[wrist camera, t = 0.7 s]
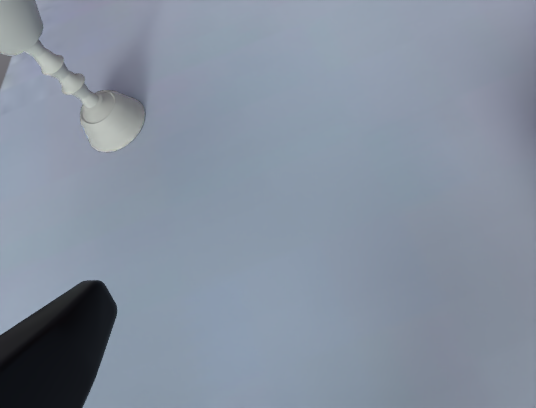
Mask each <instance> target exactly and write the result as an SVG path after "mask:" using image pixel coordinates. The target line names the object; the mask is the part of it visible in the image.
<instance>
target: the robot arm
mask: <svg viewBox="0 0 536 408" xmlns="http://www.w3.org/2000/svg"><path fill="white" fill-rule="evenodd" d="M116 316H117V306H116V303H115V301H114V300H113V298H112V296H111V294H110V293H109V291H108V289H107V287H106V286H105V284H104V283H103V282H102V281H99V280H87V281H83V282H81V283H79V284H78V285H76V286H75V287H73V288H72V289H70V290H69V291H67V292H66V293H64V294H63V295H61V296H59V297H58V298H56V299H55V300H53V301H52V302H50V303H49V304H47V305H46V306H44V307H43V308H41V309H40V310H38V311H37V312H35V313H34V314H32V315H31V316H29V317H28V318H26V319H24V320H23V321H21V322H20V323H18V324H17V325H15V326H14V327H12V328H11V329H9V330H8V331H6V332H5V333H3V334H2V335H0V408H83V405H84V403H85V401H86V399H87V396H88V394H89V392H90V390H91V387H92V385H93V382H94V380H95V378H96V375H97V372H98V369H99V366H100V363H101V361H102V358H103V355H104V352H105V349H106V346H107V343H108V340H109V337H110V334H111V331H112V328H113V325H114V322H115V319H116Z"/></svg>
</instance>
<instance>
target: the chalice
mask: <svg viewBox="0 0 536 408" xmlns="http://www.w3.org/2000/svg"><path fill="white" fill-rule="evenodd" d="M42 31H43V22H42V19H41V17H40V14H39V11H38V8H37V5H36V2H35V0H0V53H1V54H4V55H8V56H15V55H18V54H21V53H23V52H26V53H28V54H29V55H31V56H32V57H34V59H35V60H36V61H37V63H38V64H39V65H40V67H41V70H42V73H43V74H44V75H48V76H52V77H54V78H56V79H58V80H59V82H60V83H61V85H62V92H63V94H65V95H74V96H75V97H77V98H79V99H80V100H81V102H82V103H83V105H82V107H81V112H80V121H81V125H82V127H83V128H84V131H85V134H86V135H87V137H88V140H89V143H90V144H91V146H92V147H93V148H94V149H96V150H98V151H100V152H112V151H117V150H119V149H121V148H123V147H125V146H126V145H127V144H129V143H130V142H131V141H132V140H134V138H135V137H136V136H137V135H138V133H139V132H140V130H141V128H142V126H143V123H144V119H145V111H144V107H143V105H142V104H141V103H140V102H139V101H138V100H136V99H134V98H131V97H128V96H126V95H124V94H120V93H118V92H116V91H111V90H102V91H98V92H96V93H93V92H91V91H90V90H89V89H88V88H87V86H86V85H85V83H84V81H85V78H84V76H83V75H82V74H74V73H73V72H71V71H69V70H68V69H67V67H66V65H65V64H64V58H63V57H62V56H61V55H56V54H54V53H52V52H51V51H49V50H48V49H46V48H45V47H44V46H43V45H42V43H41V42H40V41H39V37H40V36H41V34H42Z"/></svg>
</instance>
